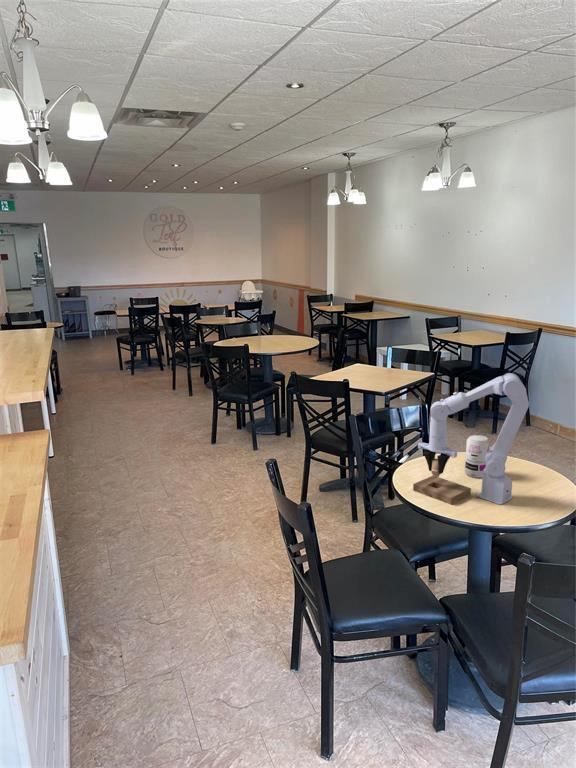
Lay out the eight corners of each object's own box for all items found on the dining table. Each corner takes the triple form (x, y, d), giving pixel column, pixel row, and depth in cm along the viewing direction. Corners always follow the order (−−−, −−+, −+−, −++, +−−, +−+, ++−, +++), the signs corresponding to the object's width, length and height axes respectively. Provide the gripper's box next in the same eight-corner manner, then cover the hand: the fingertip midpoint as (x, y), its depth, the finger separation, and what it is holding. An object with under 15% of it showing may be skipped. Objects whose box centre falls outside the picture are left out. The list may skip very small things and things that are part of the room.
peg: (442, 475, 198) (443, 459, 196) (437, 478, 195) (438, 462, 194) (433, 473, 200) (434, 457, 199) (429, 476, 198) (430, 460, 196)
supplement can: (483, 470, 217) (486, 434, 214) (489, 479, 209) (491, 441, 206) (462, 470, 218) (465, 434, 215) (467, 478, 210) (469, 441, 207)
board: (470, 494, 196) (470, 488, 195) (451, 504, 188) (451, 497, 188) (432, 481, 208) (433, 475, 207) (413, 490, 200) (413, 483, 200)
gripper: (462, 437, 192) (460, 473, 195) (426, 428, 202) (424, 463, 205) (452, 442, 187) (450, 479, 190) (415, 433, 197) (413, 468, 200)
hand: (436, 471), depth 197 cm, fingers closed on peg, 3 cm apart
